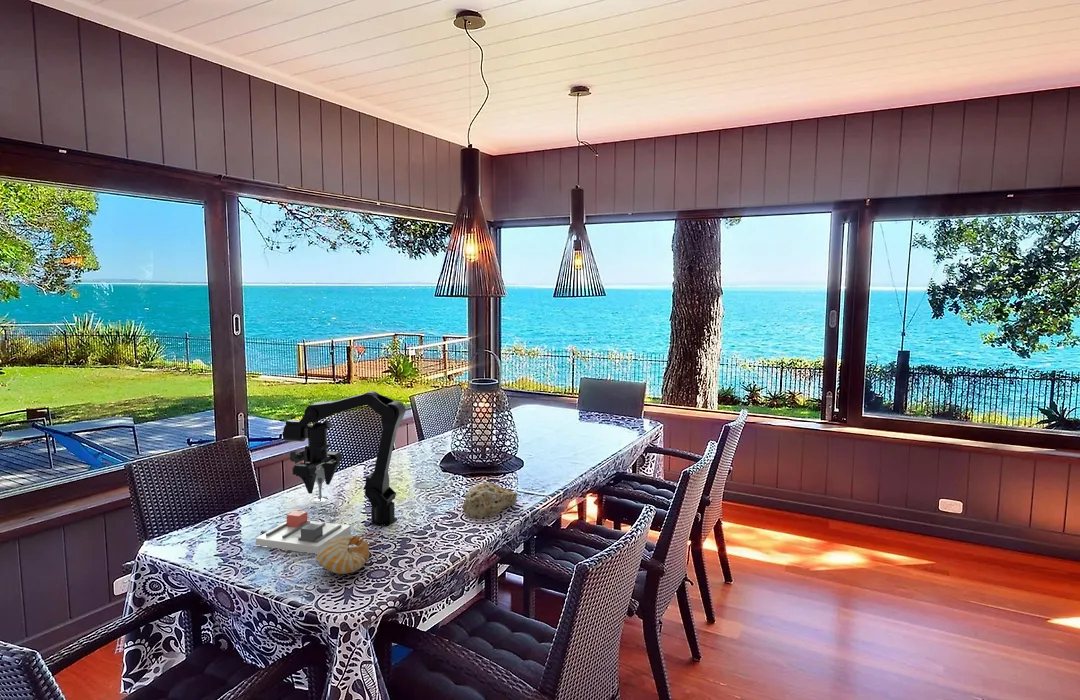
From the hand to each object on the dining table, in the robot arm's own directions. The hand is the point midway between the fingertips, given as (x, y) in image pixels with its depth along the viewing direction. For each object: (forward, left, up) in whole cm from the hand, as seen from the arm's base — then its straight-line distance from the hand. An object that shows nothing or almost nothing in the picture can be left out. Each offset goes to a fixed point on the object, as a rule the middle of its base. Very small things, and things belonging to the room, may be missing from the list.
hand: (319, 488), depth 192 cm
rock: (-50, -24, -11) cm, 56 cm away
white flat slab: (-3, +15, -10) cm, 18 cm away
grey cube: (-11, +19, -8) cm, 23 cm away
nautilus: (-29, +26, -11) cm, 40 cm away
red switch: (0, +11, -8) cm, 13 cm away
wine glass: (+11, -16, -10) cm, 22 cm away
